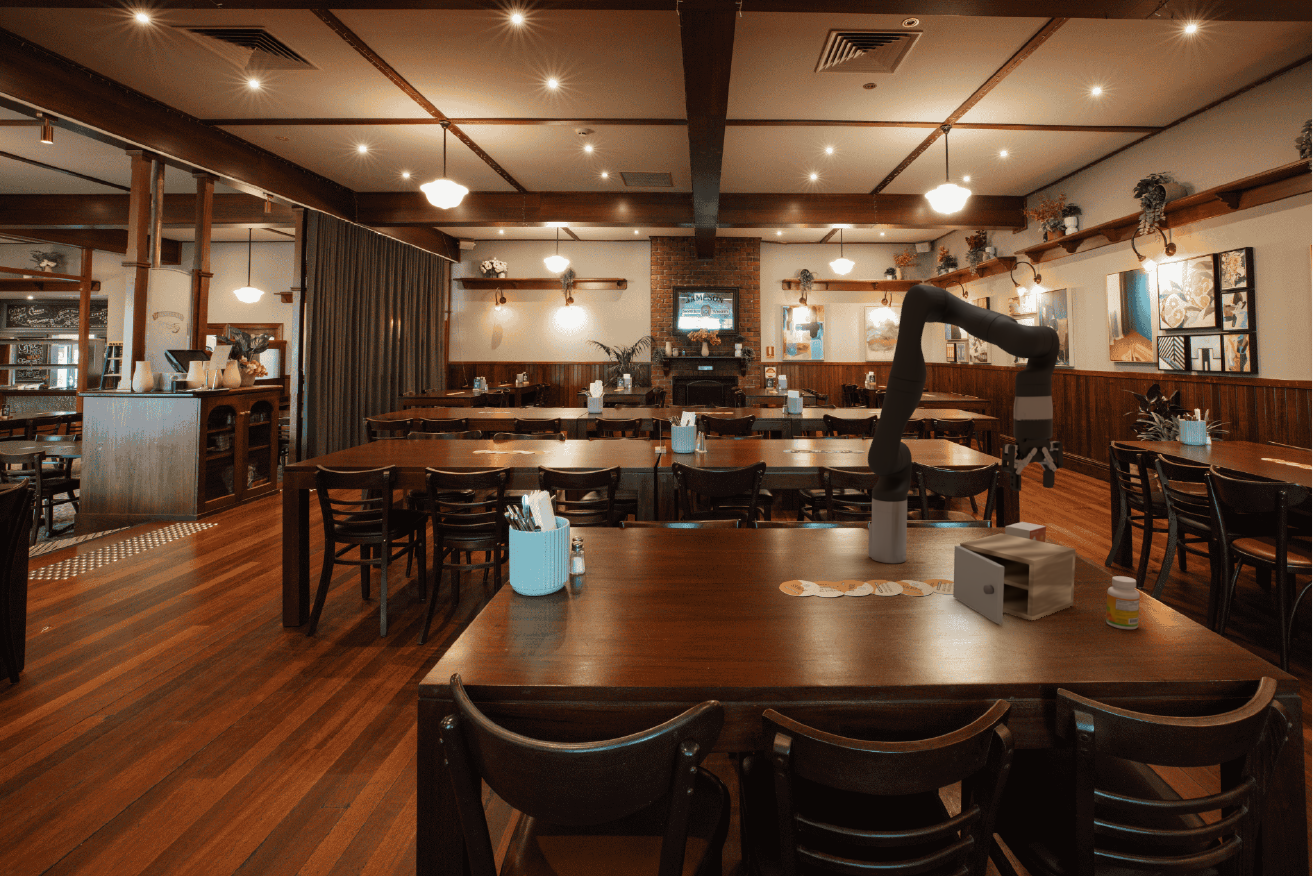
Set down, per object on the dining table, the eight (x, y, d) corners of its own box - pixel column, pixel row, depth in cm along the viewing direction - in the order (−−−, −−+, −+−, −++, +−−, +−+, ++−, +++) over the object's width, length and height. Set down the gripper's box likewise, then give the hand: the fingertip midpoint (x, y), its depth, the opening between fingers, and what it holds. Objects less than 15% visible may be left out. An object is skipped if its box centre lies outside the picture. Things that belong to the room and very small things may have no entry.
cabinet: (958, 598, 152) (960, 543, 150) (999, 585, 160) (1001, 533, 159) (1032, 621, 137) (1034, 560, 136) (1072, 606, 145) (1075, 548, 144)
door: (948, 596, 151) (949, 546, 150) (958, 596, 151) (959, 545, 150) (991, 623, 135) (993, 567, 134) (1002, 623, 135) (1004, 566, 134)
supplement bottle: (1105, 618, 138) (1108, 573, 137) (1137, 623, 135) (1140, 577, 134) (1105, 626, 134) (1108, 580, 133) (1138, 632, 131) (1141, 584, 130)
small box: (1028, 582, 162) (1030, 530, 161) (1002, 575, 167) (1004, 525, 166) (1044, 576, 166) (1046, 525, 165) (1019, 569, 172) (1021, 521, 170)
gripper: (1045, 414, 150) (1045, 484, 152) (993, 417, 147) (992, 489, 148) (1073, 416, 143) (1072, 489, 144) (1018, 419, 140) (1018, 494, 141)
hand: (1032, 489), depth 146 cm, fingers open, 8 cm apart
